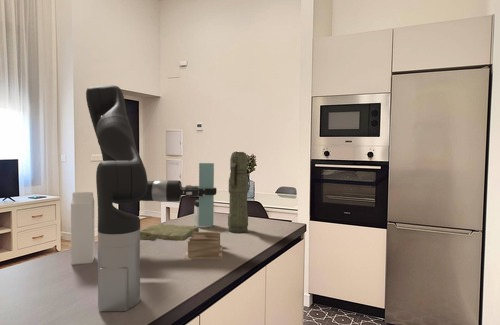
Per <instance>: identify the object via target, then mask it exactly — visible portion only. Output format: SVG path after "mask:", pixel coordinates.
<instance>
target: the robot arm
mask: <svg viewBox="0 0 500 325" xmlns="http://www.w3.org/2000/svg"><path fill="white" fill-rule="evenodd" d="M85 91H86V92H85V98H86V106H87V108H88V113H89V117H90V120H91V123H92V126H93V130H94V132H95V136H96V139H97V142H98V146H99V149H100V152H101V157H102V160H101V161H100V162H99V163H98V165H97V166H96V172H95V173H96V174H95V176H96V177H95V180H96V181H95V182H96V195H97V196H96V198H97V199H96V200H97V308H98V312H127V311H128V310H129V309H130V308H133V307H135V306H137V304H139V303H140V301H141V239H140V231H141V219H140V216H138V215H136V214H133V213H130V212H125V211H123V210H120V209H118V208H117V207H115V205H126V204H133V203H137V202H150V201H151V202H161V203H163V202H165V203H167V202H168V203H173V202H174V203H176V202H177V203H180V202H181V200H182V197H183V196H185V198H191V197H193V198H197V197H198V198H199V196H205V195H214V196H216V195H217V187H214V189H205V188H199V185H191V184H187V185H185V186H182V181H181V180H177V179H176V180H175V179H174V180H170V179H169V180H168V179H167V180H163V179H162V180H161V179H160V180H148V174H147V170H146V167H145V166H144V162H143V160H142V158H141V155H140V154H139V151H138V148H137V146H136V142H135V136H134V133H133V128H132V125H131V123H130V119H129V116H128V115H127V114H128V113H127V109H126V108H127V107H126V101H125V96H124V92H123V90H122V89H121V88H120V87H119V86H117V85H113V84H112V85H100V86H99V85H97V86H89V87H87V88H86V90H85ZM114 204H115V205H114Z"/></svg>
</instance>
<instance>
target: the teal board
mask: <svg viewBox="0 0 500 325" xmlns="http://www.w3.org/2000/svg"><path fill="white" fill-rule="evenodd" d="M214 173H215V163H214V162H200V163H198V186H199V188H205V189H214V188H215V182H214V181H215V174H214ZM214 198H215V195H205V196H198V200H199V226H211V227H213V226H214V216H215V215H214V212H215V210H214V208H215V207H214V206H215V205H214V202H215V201H214Z"/></svg>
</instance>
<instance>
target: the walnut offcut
mask: <svg viewBox="0 0 500 325" xmlns="http://www.w3.org/2000/svg"><path fill="white" fill-rule="evenodd" d="M193 238H217V236H193Z"/></svg>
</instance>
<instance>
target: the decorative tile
mask: <svg viewBox="0 0 500 325" xmlns="http://www.w3.org/2000/svg"><path fill="white" fill-rule="evenodd" d="M192 232H200V231H199V228H198V227H196V226H194V225H184V224H183V225H180V224H179V225H178V224H165V223H157V224H152V225H150V226H148V227H146V228H142V230H140V240H151V241H156V240H157V239H161V240H173V241H183V240H185V239H187V238H188V237H191V235H192Z"/></svg>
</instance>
